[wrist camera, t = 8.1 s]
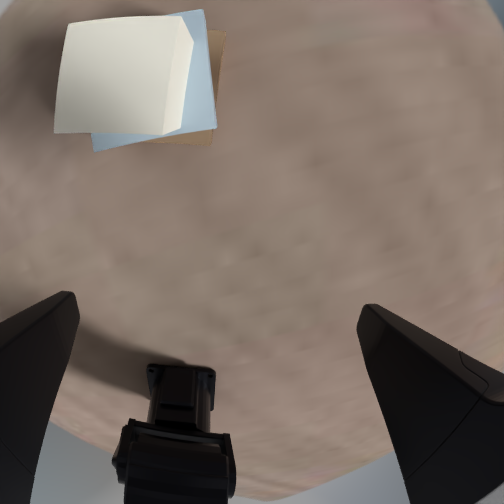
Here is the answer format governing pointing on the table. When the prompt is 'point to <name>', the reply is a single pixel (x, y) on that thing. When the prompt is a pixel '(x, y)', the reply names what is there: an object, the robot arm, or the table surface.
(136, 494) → the robot arm
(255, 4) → the table surface
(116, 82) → the cube
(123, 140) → the tower mid
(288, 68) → the table surface
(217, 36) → the tower base
